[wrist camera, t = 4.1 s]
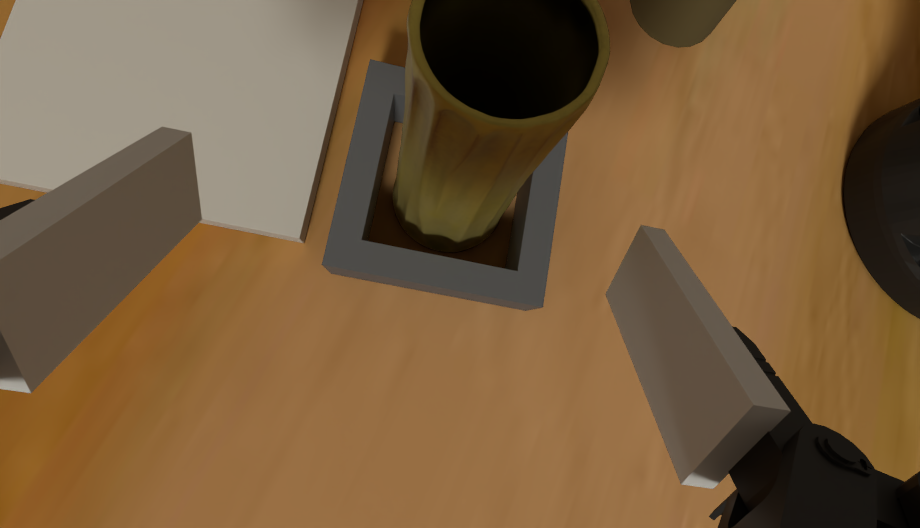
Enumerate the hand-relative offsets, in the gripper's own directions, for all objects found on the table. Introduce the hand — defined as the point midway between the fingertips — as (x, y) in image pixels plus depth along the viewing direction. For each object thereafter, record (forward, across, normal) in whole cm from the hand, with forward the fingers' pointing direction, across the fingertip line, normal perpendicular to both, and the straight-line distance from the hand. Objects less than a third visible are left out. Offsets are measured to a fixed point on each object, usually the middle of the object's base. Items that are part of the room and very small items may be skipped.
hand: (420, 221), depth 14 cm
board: (+14, -14, -2) cm, 20 cm away
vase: (+11, +1, -5) cm, 12 cm away
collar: (+11, +1, -4) cm, 12 cm away
